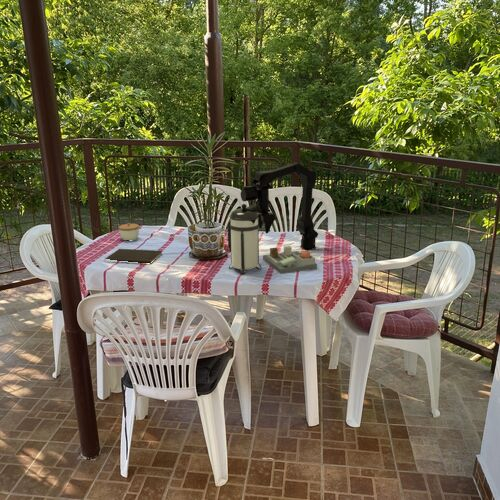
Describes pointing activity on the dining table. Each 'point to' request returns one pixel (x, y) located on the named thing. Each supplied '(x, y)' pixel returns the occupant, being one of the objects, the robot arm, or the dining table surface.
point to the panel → (291, 267)
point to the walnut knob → (273, 252)
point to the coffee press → (244, 239)
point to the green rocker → (287, 260)
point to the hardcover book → (135, 255)
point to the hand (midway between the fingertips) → (263, 230)
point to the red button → (305, 254)
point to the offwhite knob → (287, 250)
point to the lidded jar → (129, 231)
